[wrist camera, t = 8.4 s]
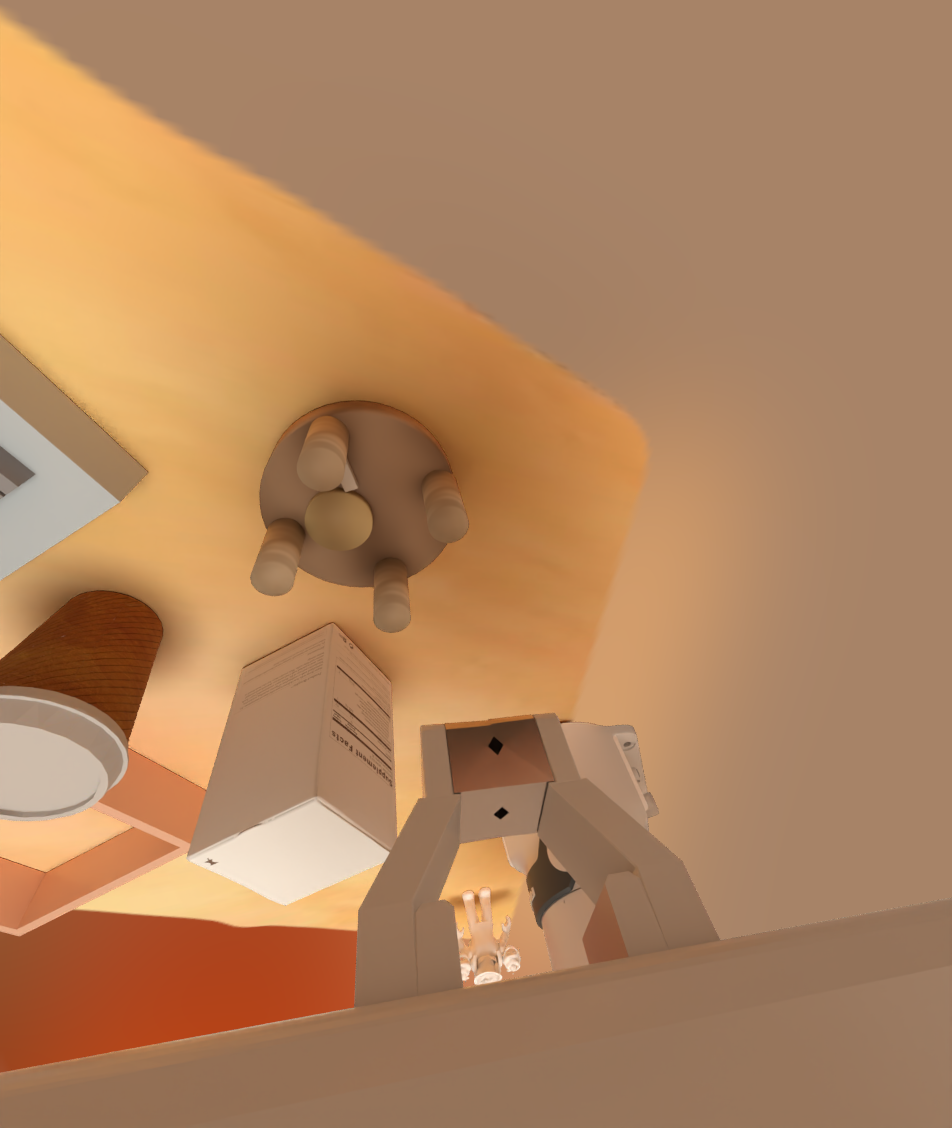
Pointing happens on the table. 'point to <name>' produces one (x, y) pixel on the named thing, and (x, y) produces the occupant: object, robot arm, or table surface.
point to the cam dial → (357, 505)
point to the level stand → (50, 464)
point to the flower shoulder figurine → (485, 943)
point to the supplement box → (302, 772)
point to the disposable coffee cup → (73, 705)
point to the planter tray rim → (108, 848)
